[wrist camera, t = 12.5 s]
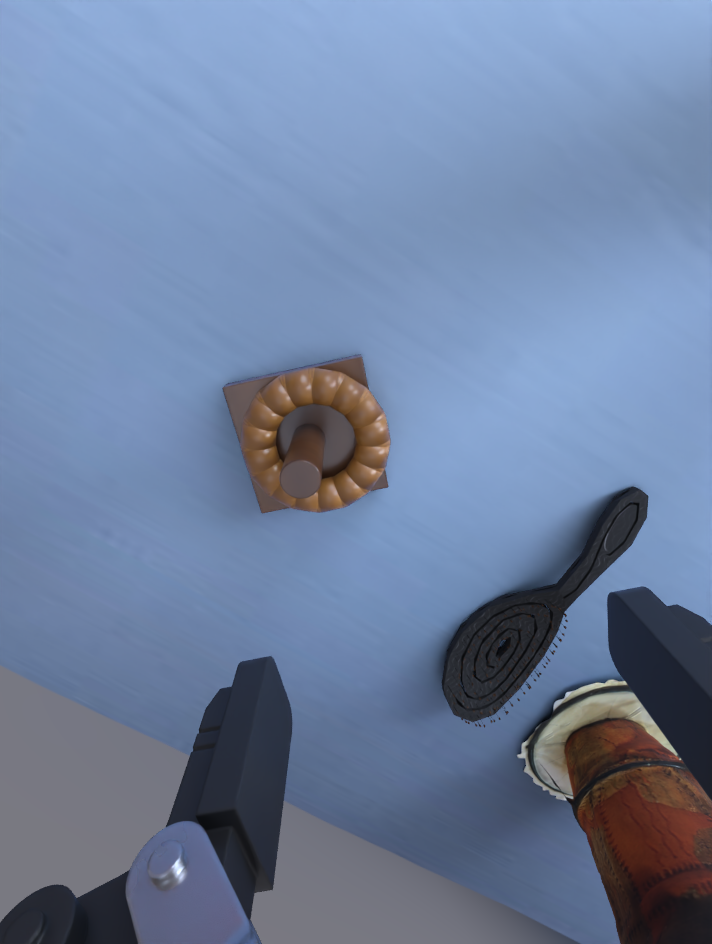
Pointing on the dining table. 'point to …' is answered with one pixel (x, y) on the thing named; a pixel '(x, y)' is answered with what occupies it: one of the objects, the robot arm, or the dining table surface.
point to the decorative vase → (631, 811)
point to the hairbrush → (530, 619)
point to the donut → (327, 392)
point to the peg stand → (304, 435)
